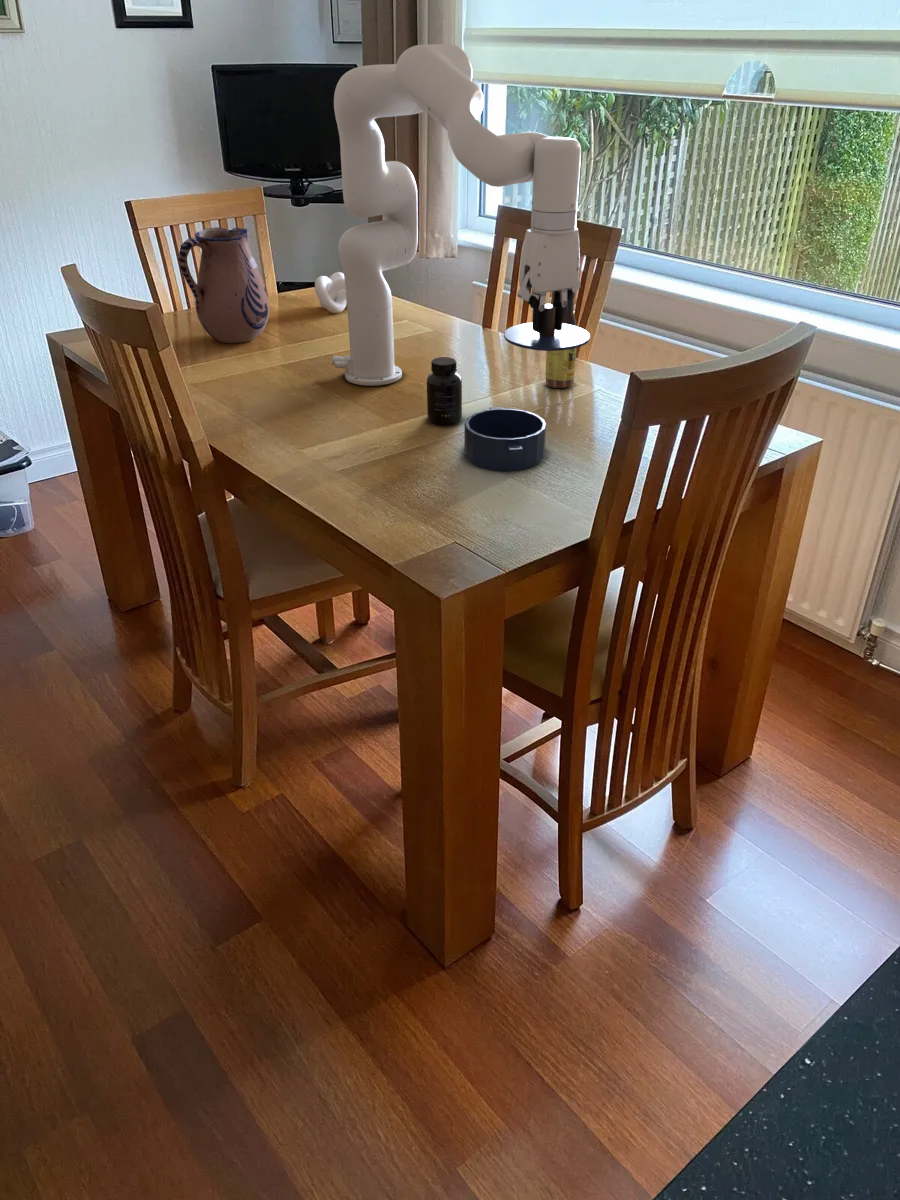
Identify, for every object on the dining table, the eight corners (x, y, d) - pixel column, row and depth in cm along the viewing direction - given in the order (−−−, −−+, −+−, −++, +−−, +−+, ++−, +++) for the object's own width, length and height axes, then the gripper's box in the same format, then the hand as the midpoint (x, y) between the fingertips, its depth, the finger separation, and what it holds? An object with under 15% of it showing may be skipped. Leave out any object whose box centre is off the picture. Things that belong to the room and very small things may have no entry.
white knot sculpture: (339, 318, 236) (336, 283, 231) (304, 311, 241) (301, 277, 236) (365, 308, 244) (363, 274, 239) (331, 302, 249) (328, 268, 244)
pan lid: (511, 355, 154) (513, 320, 150) (497, 329, 167) (498, 295, 163) (599, 352, 155) (602, 317, 152) (578, 326, 168) (580, 293, 165)
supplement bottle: (426, 414, 180) (425, 355, 173) (460, 412, 180) (460, 354, 173) (428, 427, 174) (427, 367, 167) (463, 426, 174) (463, 365, 168)
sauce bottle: (572, 390, 190) (579, 295, 179) (543, 388, 191) (548, 293, 180) (575, 380, 196) (582, 286, 185) (546, 378, 197) (551, 285, 186)
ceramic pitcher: (287, 334, 224) (276, 228, 210) (227, 358, 209) (211, 245, 195) (236, 324, 232) (222, 221, 218) (175, 345, 217) (155, 236, 203)
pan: (473, 480, 154) (474, 448, 151) (457, 435, 170) (457, 405, 167) (555, 475, 156) (557, 443, 152) (531, 431, 172) (533, 401, 169)
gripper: (577, 212, 156) (570, 318, 166) (500, 221, 149) (497, 332, 159) (605, 219, 151) (595, 328, 161) (527, 229, 144) (522, 343, 154)
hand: (547, 329), depth 160 cm, fingers closed on pan lid, 2 cm apart
